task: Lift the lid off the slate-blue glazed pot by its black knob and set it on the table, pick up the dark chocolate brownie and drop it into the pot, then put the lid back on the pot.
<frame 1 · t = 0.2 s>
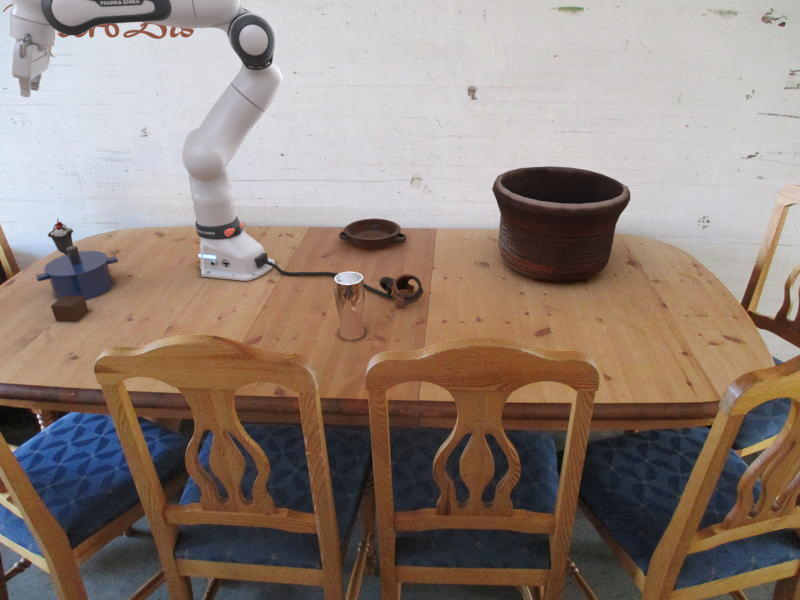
hand: (30, 93, 139), 51 cm above the table, tool tilted 20°, fingers open, 8 cm apart
brownie: (72, 316, 147), on the table
ceramic pot: (549, 265, 169), on the table
lid: (77, 264, 157), point 7 cm above the table, touching pot
beer glass: (352, 334, 138), on the table
pottery mug: (401, 299, 153), on the table
dish: (373, 242, 186), on the table
sundae: (70, 264, 175), on the table
pot: (84, 288, 160), on the table
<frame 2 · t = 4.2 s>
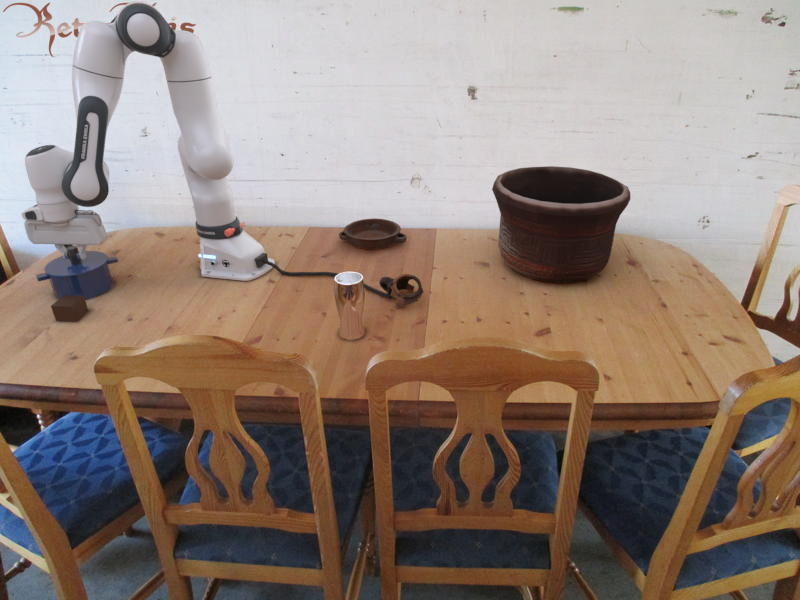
hand: (75, 258, 156), 9 cm above the table, tool pointing down, fingers closed on lid, 2 cm apart
lid: (77, 264, 157), point 8 cm above the table, touching gripper, pot
everything else where it was.
when the fingers open (2 cm above the table, at t = 12.6 s): lid stays where it is, point 1 cm above the table.
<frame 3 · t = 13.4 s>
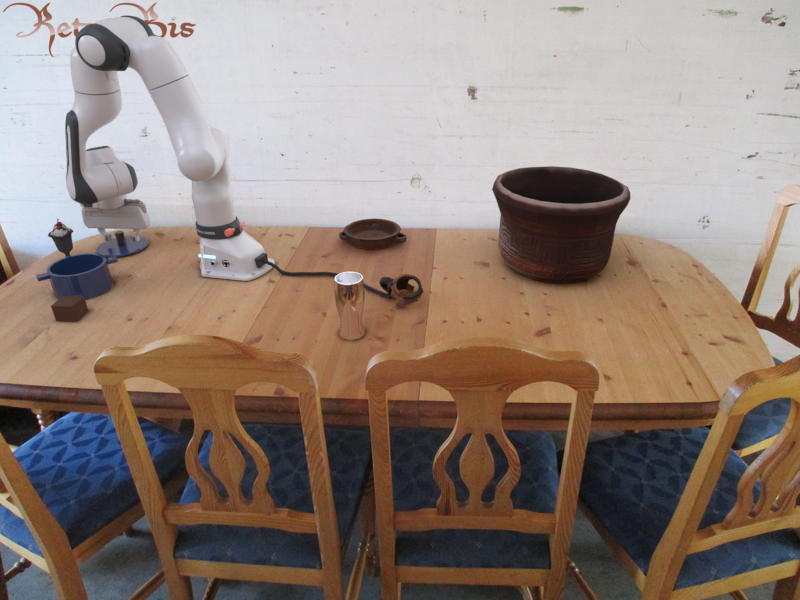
hand: (122, 240, 183), 3 cm above the table, tool pointing down, fingers open, 8 cm apart
lid: (122, 246, 184), point 1 cm above the table
everything else where it was.
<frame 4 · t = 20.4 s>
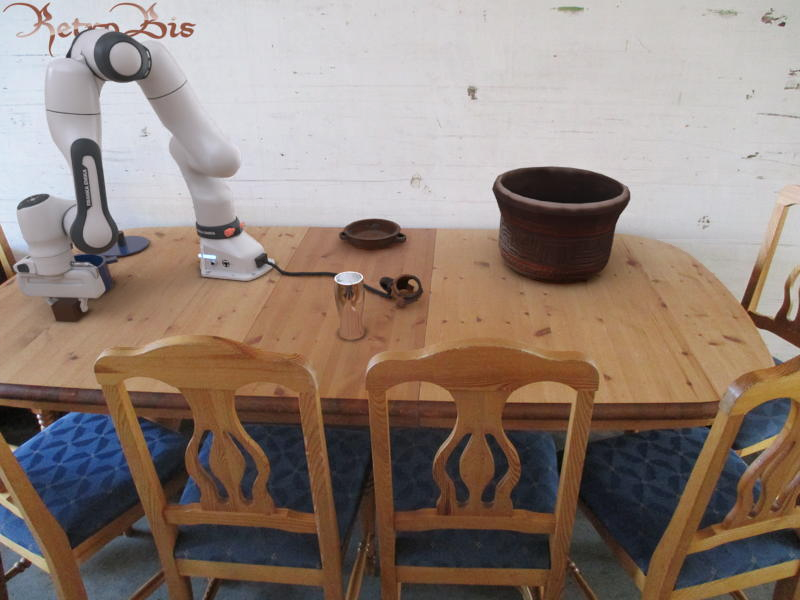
hand: (70, 310, 146), 2 cm above the table, tool pointing down, fingers closed on brownie, 5 cm apart
brownie: (72, 316, 147), on the table, touching gripper
everything else where it was.
when the fingers open (7 cm above the table, at t = 27.5 s): brownie drops 4 cm, resting on pot.
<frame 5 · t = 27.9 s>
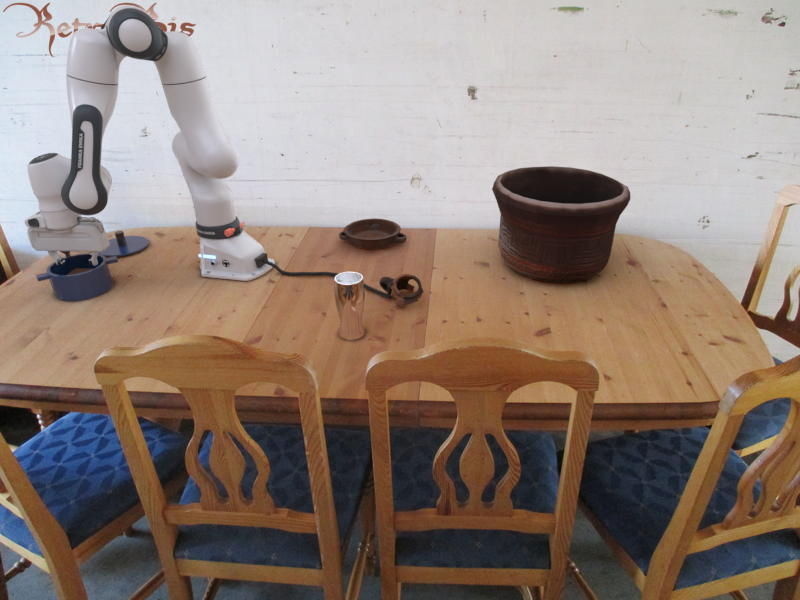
hand: (77, 264, 157), 7 cm above the table, tool pointing down, fingers open, 8 cm apart
brownie: (84, 286, 160), point 1 cm above the table, touching pot
everything else where it was.
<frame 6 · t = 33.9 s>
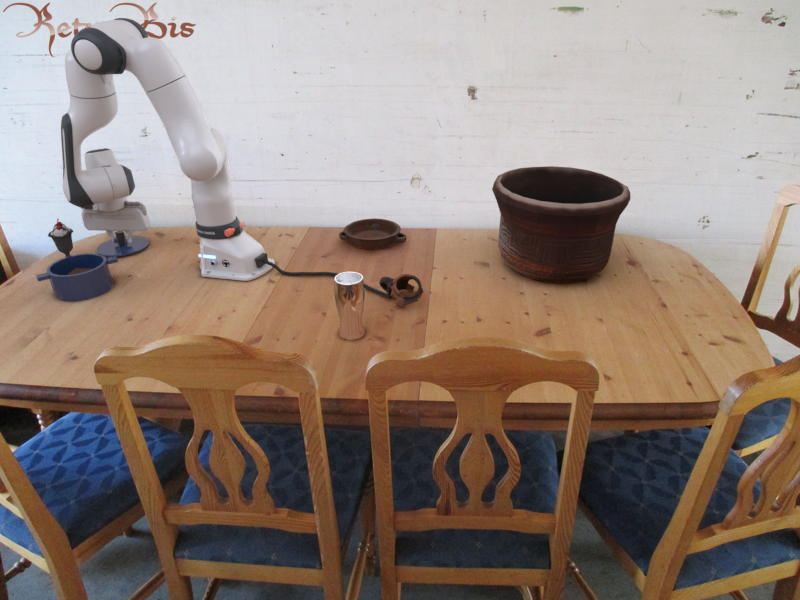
hand: (122, 242, 183), 2 cm above the table, tool pointing down, fingers closed on lid, 2 cm apart
lid: (123, 246, 184), point 1 cm above the table, touching gripper
everything else where it was.
when the fingers open (9 cm above the table, at t = 42.9 s): lid stays where it is, resting on pot.
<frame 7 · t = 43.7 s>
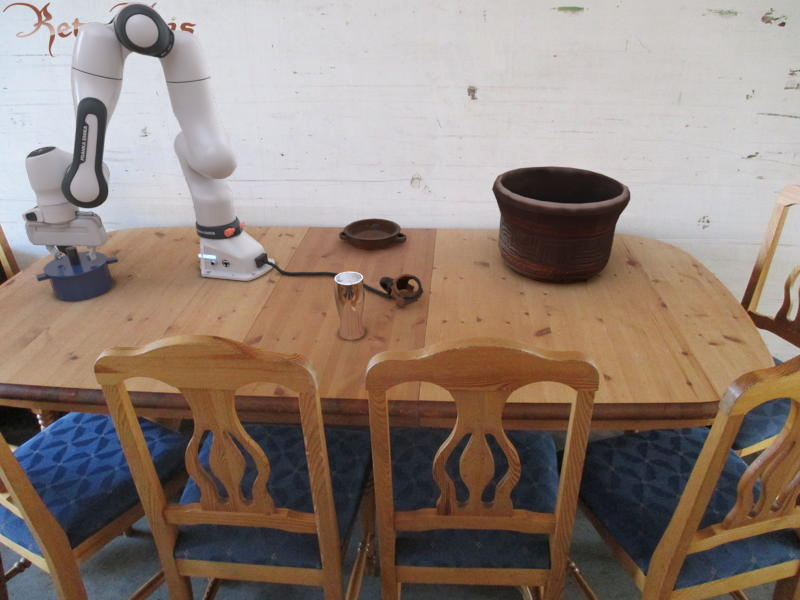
hand: (75, 259, 156), 9 cm above the table, tool pointing down, fingers open, 8 cm apart
lid: (76, 264, 156), point 7 cm above the table, touching pot
everything else where it was.
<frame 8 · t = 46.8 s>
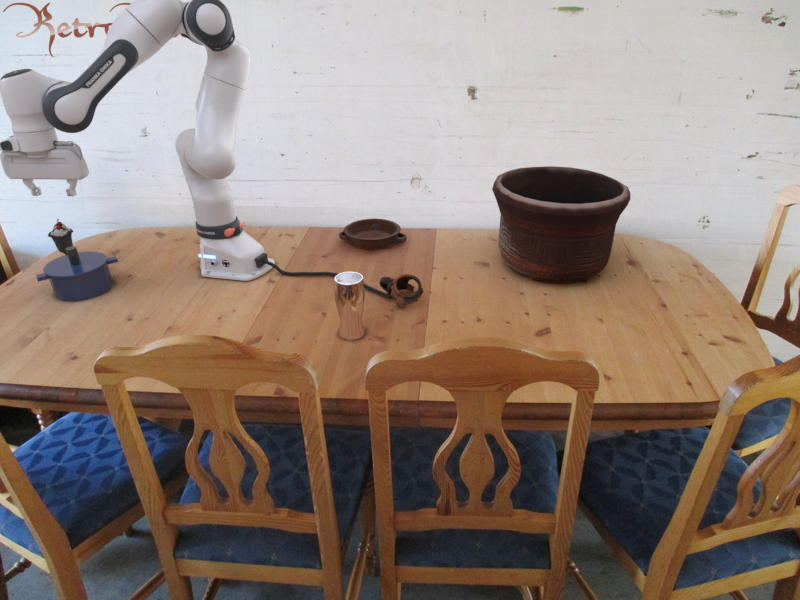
hand: (54, 195, 147), 27 cm above the table, tool pointing down, fingers open, 8 cm apart
nothing on the table moved.
at the end: brownie inside the target area in the pot (0.0 cm from its centre), point 0.5 cm above the pot's base; lid 0.3 cm off-centre on the pot, point 7.5 cm above the pot's base; lid tilted 0° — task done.
